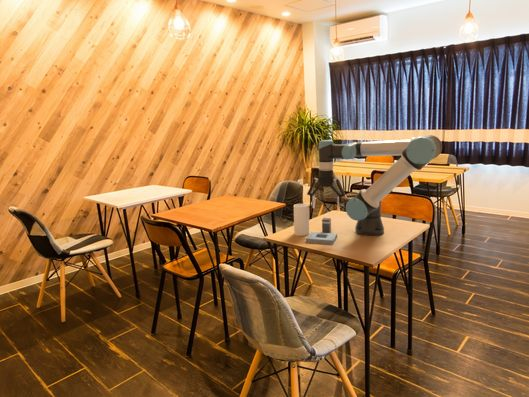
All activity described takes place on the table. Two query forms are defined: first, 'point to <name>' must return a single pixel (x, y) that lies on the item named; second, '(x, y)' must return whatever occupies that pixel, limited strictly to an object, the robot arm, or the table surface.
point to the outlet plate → (321, 237)
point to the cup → (301, 219)
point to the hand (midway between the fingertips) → (326, 208)
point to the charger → (326, 225)
